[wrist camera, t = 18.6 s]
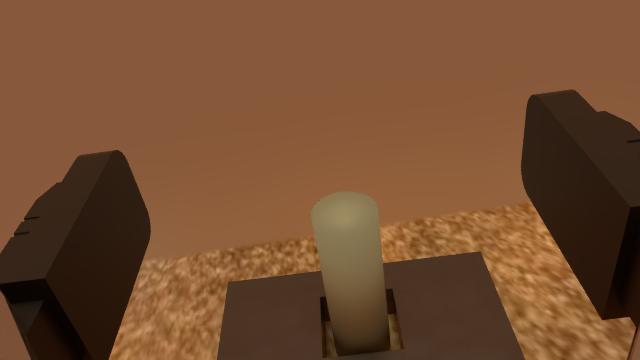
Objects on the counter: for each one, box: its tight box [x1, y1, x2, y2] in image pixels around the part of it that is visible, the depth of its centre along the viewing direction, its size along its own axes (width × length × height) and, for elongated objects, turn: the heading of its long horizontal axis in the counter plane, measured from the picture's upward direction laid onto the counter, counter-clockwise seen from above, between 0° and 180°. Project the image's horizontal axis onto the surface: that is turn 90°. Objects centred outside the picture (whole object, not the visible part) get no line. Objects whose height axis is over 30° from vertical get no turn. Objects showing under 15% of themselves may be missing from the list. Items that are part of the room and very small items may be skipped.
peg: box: [311, 191, 391, 357], centre depth 39 cm, size 4×4×14 cm
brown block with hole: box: [217, 252, 525, 360], centre depth 42 cm, size 22×12×3 cm, turn 92°
